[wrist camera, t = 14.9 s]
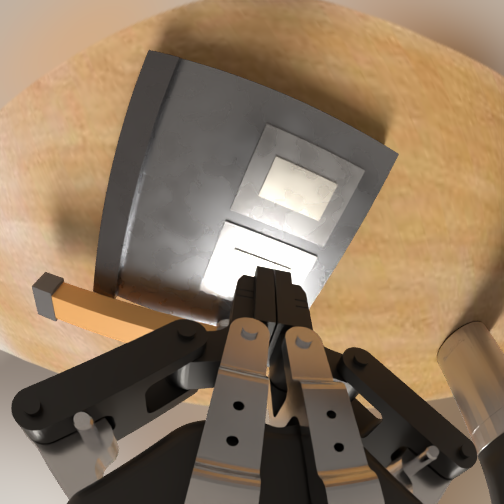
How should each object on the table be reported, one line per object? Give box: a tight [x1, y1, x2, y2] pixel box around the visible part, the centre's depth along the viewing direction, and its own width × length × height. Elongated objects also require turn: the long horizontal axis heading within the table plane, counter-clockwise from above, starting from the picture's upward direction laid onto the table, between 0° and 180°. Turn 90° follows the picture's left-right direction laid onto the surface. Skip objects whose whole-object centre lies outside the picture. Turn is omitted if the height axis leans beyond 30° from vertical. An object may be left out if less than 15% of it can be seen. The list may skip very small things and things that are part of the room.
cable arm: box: [32, 272, 227, 343], centre depth 25 cm, size 4×21×3 cm, turn 75°
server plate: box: [93, 50, 399, 328], centre depth 24 cm, size 20×22×4 cm
